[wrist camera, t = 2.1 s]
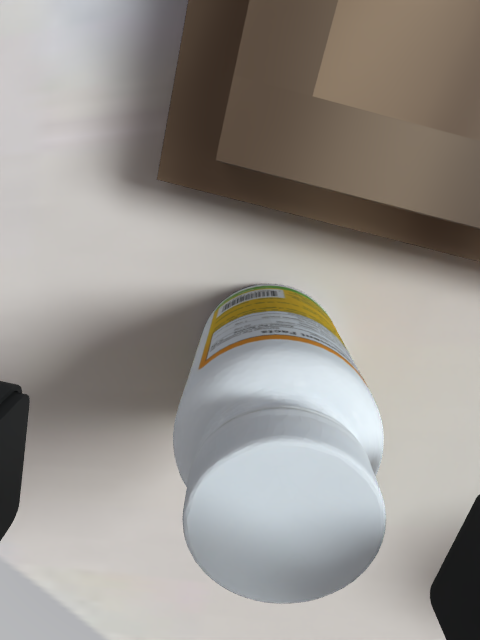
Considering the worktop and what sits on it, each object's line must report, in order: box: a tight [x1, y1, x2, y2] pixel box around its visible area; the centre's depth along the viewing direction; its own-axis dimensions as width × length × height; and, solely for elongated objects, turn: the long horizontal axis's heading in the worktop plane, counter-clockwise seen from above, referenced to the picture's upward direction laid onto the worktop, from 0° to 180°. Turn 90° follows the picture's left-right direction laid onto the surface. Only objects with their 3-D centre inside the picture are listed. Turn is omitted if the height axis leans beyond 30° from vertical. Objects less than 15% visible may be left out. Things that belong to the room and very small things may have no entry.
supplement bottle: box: [173, 284, 386, 603], centre depth 13 cm, size 5×5×10 cm
